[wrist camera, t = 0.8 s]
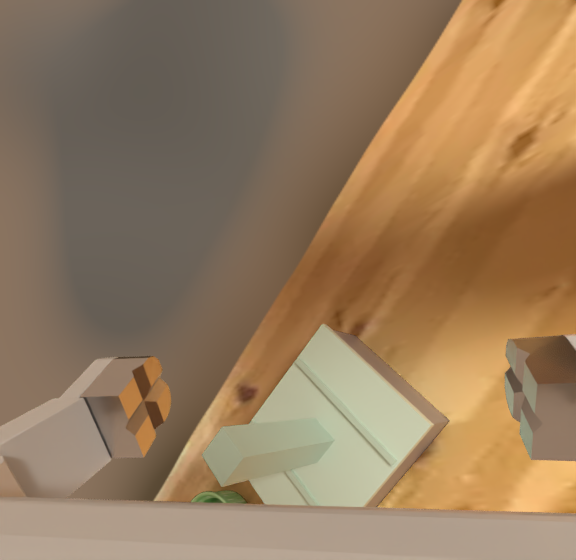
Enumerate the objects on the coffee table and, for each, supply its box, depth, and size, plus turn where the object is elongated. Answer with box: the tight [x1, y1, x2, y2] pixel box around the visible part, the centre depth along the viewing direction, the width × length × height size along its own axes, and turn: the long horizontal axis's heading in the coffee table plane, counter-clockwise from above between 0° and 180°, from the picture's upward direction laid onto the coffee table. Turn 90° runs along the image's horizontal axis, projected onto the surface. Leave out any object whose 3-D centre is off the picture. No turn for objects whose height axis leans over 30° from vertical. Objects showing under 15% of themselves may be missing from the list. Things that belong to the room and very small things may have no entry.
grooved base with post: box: [202, 324, 434, 507], centre depth 38 cm, size 19×15×15 cm
